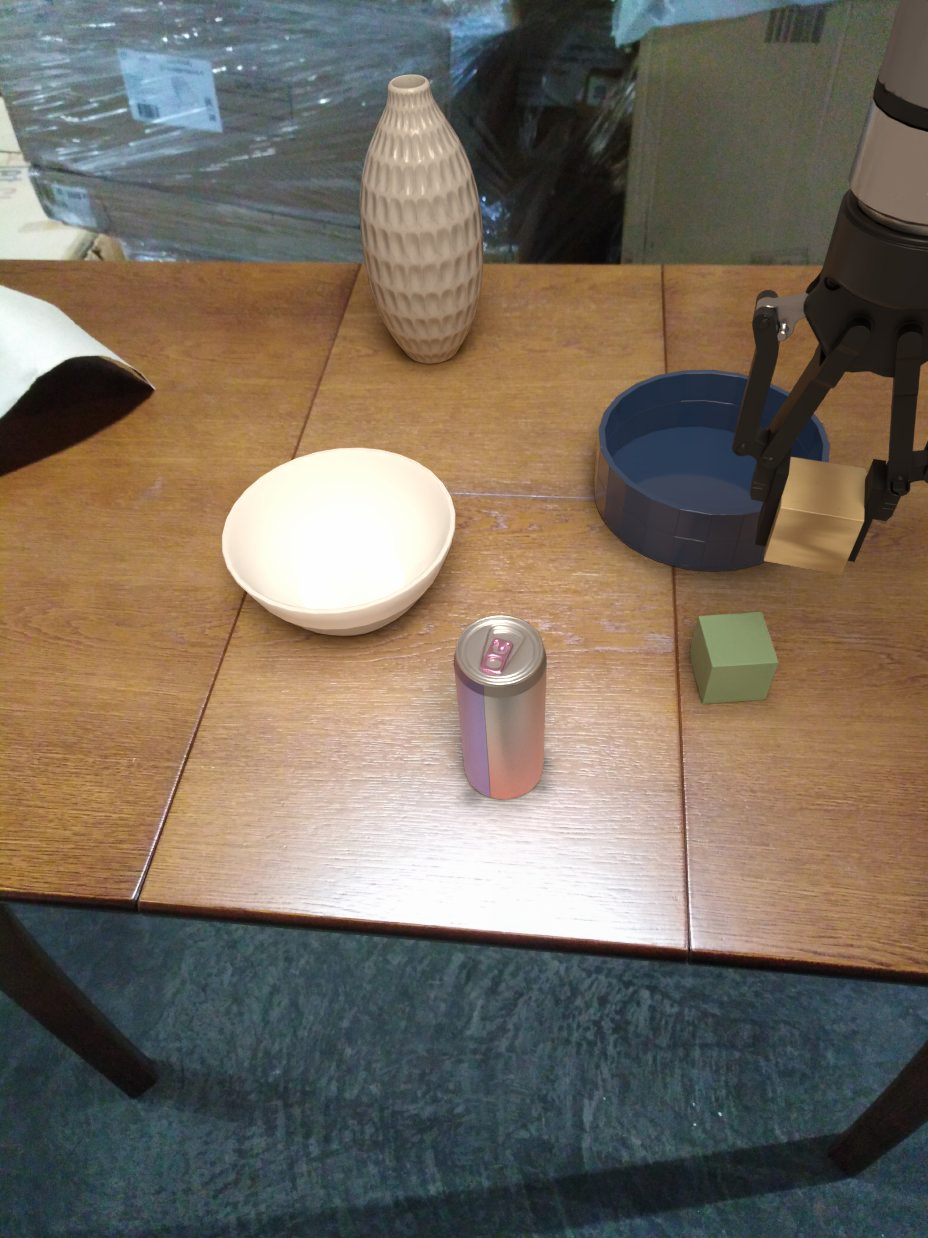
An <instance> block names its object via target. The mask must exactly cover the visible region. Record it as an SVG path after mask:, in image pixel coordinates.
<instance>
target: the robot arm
mask: <svg viewBox="0 0 928 1238" xmlns="http://www.w3.org/2000/svg"><path fill="white" fill-rule="evenodd" d="M878 70H879V71H878V75H877V78H876V81H875V83H874V88H873V93H872V96H871V99H870V102H869V105H868V108H867V113H866V116H865V119H864V122H863V126H862V130H861V133H860V137H859V140H858V143H857V147H856V150H855V154H854V157H853V161H852V164H851V168H850V171H849V174H848V178H847V181H848V185H849V186H848V187H849V189H848V190H847V191H846V192H845V193H844V195H843V196H842V198H841V201H840V205H839V209H838V212H837V216H836V219H835V223H834V227H833V229H832V233H831V237H830V240H829V244H828V247H827V251H826V254H825V258H824V262H823V265H822V267H821V269H820V272H819V273H818V274H817V276H816V277H815V278H814V279H813V280H812V281H811V282H810V283H809V285H808V286H807V288H806V290H805V292H799V293H794V294H789V295H783V296H779V294H778V293H777V292H776V291H775V290H773V289H765V290H762V291H760V292H759V293H758V294H757V296H756V298H755V305H754V311H753V316H752V322H751V324H752V325H751V328H752V333H753V339H754V345H755V348H754V350H753V351H754V352H753V355H752V360H751V364H750V368H749V372H748V375H747V376H748V379H747V383H746V387H745V391H744V395H743V399H742V403H741V407H740V411H739V415H738V419H737V423H736V428H735V434H734V439H733V445H732V451H733V452H734V453H735V454H736V455H738V456H746V455H750V456H752V457H753V458H755V459H756V461H757V463H756V466H755V470H754V474H753V477H752V482H751V489H750V496H751V500H756V501H762V502H763V504H762V508H761V511H760V514H759V518H758V525H757V533H756V540H755V545H758V546H764V547H766V544H767V541H768V538H769V535H770V531H771V528H772V525H773V522H774V519H775V515H776V512H777V509H778V506H779V503H780V499H781V496H782V495H783V492H784V488H785V485H786V482H787V479H788V476H789V469H790V460H791V451H792V445H793V443H794V442H795V440H796V439H797V437H798V436H799V434H800V433H801V432H802V430H803V429H804V427H805V426H806V424H807V423H808V421H809V420H810V418H811V417H812V415H813V414H815V412H816V411H817V409H818V408H819V407H820V405H821V404H822V403H823V401H824V400H825V398H826V397H827V395H828V394H829V392H830V390H831V389H834V388H836V386H837V385H838V383H839V382H840V381H841V379H842V378H843V376H844V375H845V374H846V373H852V374H853V373H864V372H865V373H866V372H869V373H872V374H875V375H878V376H880V377H884V378H891V379H892V391H891V407H890V408H891V409H890V423H889V438H888V439H889V441H888V457H887V458H888V460H886V459H879V458H873V459H872V461H871V463H870V466H869V469H868V472H867V473H866V479H865V496H864V509H865V512H864V523H863V525H862V528H861V530H860V532H859V535H858V537H857V539H856V542H855V544H854V546H853V549H852V551H851V553H850V556H849V558H848V560H847V562H851V563H855V562H856V560H857V557H858V555H859V553H860V550H861V548H862V546H863V543H864V541H865V539H866V536H867V534H868V532H869V530H870V527H871V525H872V523H873V521H874V520H875V521H881V522H888V521H889V520H890V519H891V518H892V517H893V515H894V513H895V512H896V509H897V507H898V504H899V502H900V500H901V497H904V496H906V495H908V494H909V493H910V492H911V484H913V483H915V482H925V483H926V484H927V485H928V440H927V441H926V444H925V446H924V448H923V449H920V450H914V442H915V431H916V419H917V418H916V417H917V407H918V397H919V390H920V377H921V368H922V367H921V366H923V365H924V364H926V363H927V362H928V0H898V4H897V8H896V12H895V15H894V19H893V23H892V25H891V30H890V33H889V37H888V41H887V44H886V47H885V52H884V56H883V59H882V63H881V66H880V68H879V69H878ZM802 319H806V321H807V323H808V325H809V327H810V328H811V331H812V333H813V335H814V337H815V338H816V341H817V342H818V344H817V346H816V348H815V350H814V354H813V356H812V357H811V359H810V360H809V362H808V364H807V365H806V367H805V369H804V370H803V372H802V373H801V374H800V377H799V378H798V380H797V381H796V382H795V384H794V386H793V387H792V389H791V391H789V392H790V394H789V395H788V397H787V398H786V400H785V401H784V403H783V405H782V406H781V408H780V409H779V411H778V412H777V414H776V416H775V417H774V419H773V420H772V422H771V423H770V425H769V427H768V428H767V426H765V428H764V429H763V428H761V427H759V424H760V420H761V416H762V413H763V409H764V406H765V402H766V398H767V395H768V391H769V388H770V384H772V380H773V378H774V377H773V376H774V373H775V369H776V366H777V362H778V358H779V351H780V344H781V342H784V341H786V340H787V339H788V338H789V337H791V336H792V335H793V333H794V331H795V326H796V324H797V323H798V322H799V321H800V320H802Z"/></svg>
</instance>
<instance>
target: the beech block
mask: <svg viewBox="0 0 928 1238" xmlns="http://www.w3.org/2000/svg"><path fill="white" fill-rule="evenodd" d="M866 476H867V468H866V467H860V466H854V465H847V464H841V463H833V462H829V463H828V462H821V461H815V460H808V459H802V458H795V457H791V460H790V469H789V476H788V479H787V482H786V485H785V488H784V492H783V495H782V496H781V499H780V503H779V506H778V509H777V512H776V515H775V519H774V522H773V525H772V528H771V531H770V535H769V538H768V541H767V544H766V547H765V553H764V561H766V562H768V563H773V564H777V565H784V566H789V567H790V566H791V567H795V568H800V569H806V570H812V571H817V572H823V573H828V574H834V575H839V576H841V575H843V572H844V569H845V567H846V565H847V562H848V561H847V560H848V558H849V556H850V553H851V551H852V549H853V546H854V544H855V542H856V539H857V537H858V535H859V532H860V530H861V528H862V525H863V523H864V512H865V509H864V496H865V479H866Z"/></svg>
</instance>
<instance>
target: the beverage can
mask: <svg viewBox="0 0 928 1238" xmlns="http://www.w3.org/2000/svg"><path fill="white" fill-rule="evenodd" d="M547 665H548V656H547V652H546V649H545V646H544V640H543V638H542V636H541V634H540V633H539V631H538V630H537V629H536V628H535V627H534V626H533V625H532V624H530V623H529V622H528V621H526V620H524V619H522V618H519V617H517V616H514V615H513V616H512V615H509V614H494V615H488V616H484V617H481V618H479V619H477V620H475V621H473V622H472V623H469V625H468V626H466V627H465V628H464V629H463V630H462V632H461V633H460V634H459V636H458V639H457V641H456V645H455V650H454V653H453V670H454V680H455V681H454V682H455V689H456V698H457V709H458V719H459V728H460V729H459V730H460V738H461V740H460V741H461V749H462V758H463V766H464V773H465V776H466V778H467V780H468V782H469V783H470V785H471V786H472V787H473V788H474V789H475V790H476V791H478V792H479V793H481V794H482V795H484V796H486V797H488V798H492V799H495V800H512V799H516V798H519V797H522V796H524V795H525V794H527V793H529V792H531V791H532V790H533V789H534V788H535V787H536V786H537V784H538V783H539V782H540V779H541V777H542V775H543V771H544V760H545V731H546V730H545V729H546V728H545V727H546V699H547V698H546V697H547V669H548V666H547Z"/></svg>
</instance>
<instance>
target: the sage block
mask: <svg viewBox="0 0 928 1238" xmlns="http://www.w3.org/2000/svg"><path fill="white" fill-rule="evenodd" d="M689 658H690V663H691V667H692V671H693V674H694V677H695V678H694V679H695V682H696V684H697V685H696V687H697V689H698V693H699V697H700V701H701V704H702V705H706V704H707V705H709V704H722V703H738V702H751V701H752V702H753V701H754V702H755V701H765V700H766V699H767V696H768V693H769V690H770V688H771V685H772V682H773V680H774V677H775V674H776V672H777V668H778V666H779V663H780V661H779V659H778V656H777V652H776V650H775V647H774V643H773V640H772V638H771V635H770V632H769V629H768V626H767V622H766V620H765V617H764V615H763V612H762V611H754V612H753V611H752V612H736V613H724V614H723V613H722V614H720V613H719V614H710V615H709V614H708V615H707V614H706V615H698V616H697V620H696V625H695V628H694V633H693V638H692V642H691V645H690V650H689Z"/></svg>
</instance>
